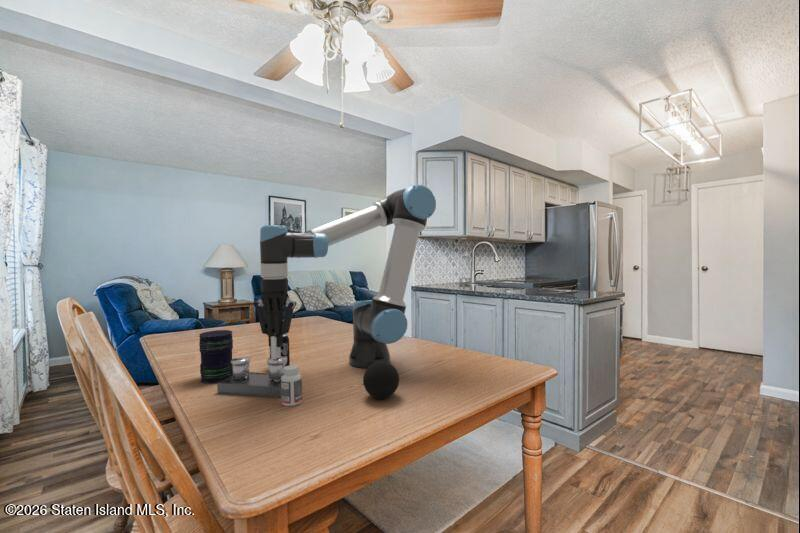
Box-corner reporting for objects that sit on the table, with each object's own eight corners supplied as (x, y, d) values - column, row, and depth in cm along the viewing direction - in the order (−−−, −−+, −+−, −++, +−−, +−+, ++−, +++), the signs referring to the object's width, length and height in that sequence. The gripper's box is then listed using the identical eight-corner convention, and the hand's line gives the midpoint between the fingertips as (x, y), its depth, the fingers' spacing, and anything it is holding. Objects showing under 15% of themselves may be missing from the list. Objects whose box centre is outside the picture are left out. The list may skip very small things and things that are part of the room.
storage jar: (207, 386, 116) (205, 338, 115) (195, 379, 123) (194, 333, 122) (239, 377, 123) (238, 332, 123) (226, 371, 130) (225, 328, 129)
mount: (298, 384, 116) (298, 374, 116) (279, 397, 106) (279, 386, 106) (241, 380, 121) (240, 370, 121) (217, 393, 110) (217, 382, 110)
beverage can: (292, 366, 135) (291, 333, 135) (285, 371, 129) (284, 337, 129) (275, 365, 136) (274, 332, 136) (266, 371, 130) (266, 337, 129)
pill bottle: (300, 397, 106) (299, 363, 105) (304, 404, 101) (303, 368, 101) (280, 401, 103) (279, 365, 103) (283, 408, 99) (282, 371, 98)
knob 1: (254, 384, 116) (253, 356, 116) (243, 390, 111) (243, 361, 111) (239, 383, 118) (238, 356, 117) (227, 389, 112) (226, 360, 112)
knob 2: (290, 384, 114) (289, 356, 114) (280, 391, 109) (280, 361, 108) (273, 383, 115) (273, 355, 115) (263, 389, 110) (263, 360, 109)
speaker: (402, 391, 109) (402, 357, 109) (395, 405, 99) (394, 368, 99) (369, 389, 111) (368, 356, 111) (358, 403, 101) (358, 366, 101)
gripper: (300, 277, 113) (302, 355, 114) (261, 277, 116) (263, 353, 116) (288, 279, 106) (289, 362, 106) (246, 278, 108) (248, 360, 109)
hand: (276, 357), depth 111 cm, fingers closed
